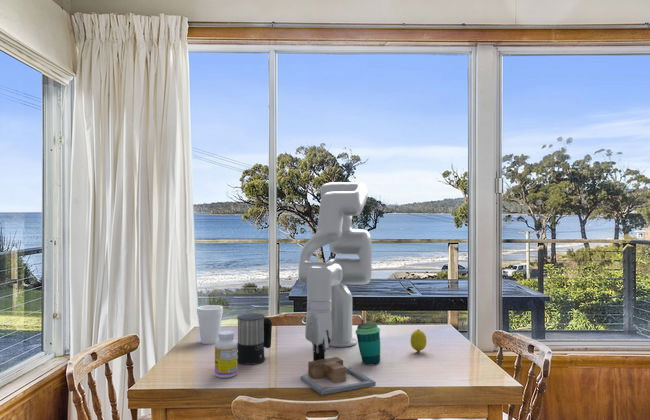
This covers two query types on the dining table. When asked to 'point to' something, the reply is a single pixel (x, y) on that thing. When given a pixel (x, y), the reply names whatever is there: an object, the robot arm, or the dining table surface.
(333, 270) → the robot arm
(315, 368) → the t block
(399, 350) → the dining table surface
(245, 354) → the milk frother
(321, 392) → the grey u-shaped bar
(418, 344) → the lemon
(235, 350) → the supplement bottle
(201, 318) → the foam cup
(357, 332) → the cup
